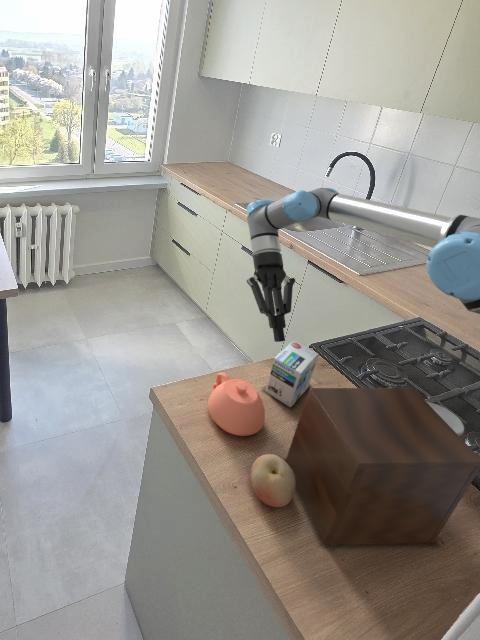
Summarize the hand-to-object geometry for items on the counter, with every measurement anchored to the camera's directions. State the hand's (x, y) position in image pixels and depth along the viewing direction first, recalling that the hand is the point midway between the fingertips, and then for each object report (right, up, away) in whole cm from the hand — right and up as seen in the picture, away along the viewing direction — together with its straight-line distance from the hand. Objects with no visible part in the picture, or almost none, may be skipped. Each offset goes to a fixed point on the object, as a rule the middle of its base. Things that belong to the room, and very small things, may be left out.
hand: (279, 341), depth 108 cm
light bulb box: (0, -11, -4) cm, 12 cm away
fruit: (-15, -21, -28) cm, 39 cm away
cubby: (+1, -22, -29) cm, 37 cm away
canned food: (+22, -19, -19) cm, 35 cm away
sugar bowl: (-17, -14, -12) cm, 25 cm away
